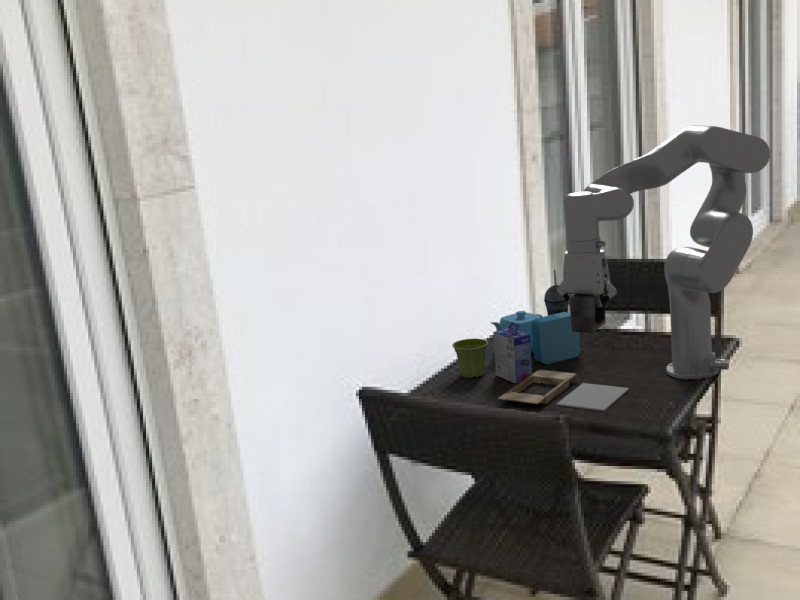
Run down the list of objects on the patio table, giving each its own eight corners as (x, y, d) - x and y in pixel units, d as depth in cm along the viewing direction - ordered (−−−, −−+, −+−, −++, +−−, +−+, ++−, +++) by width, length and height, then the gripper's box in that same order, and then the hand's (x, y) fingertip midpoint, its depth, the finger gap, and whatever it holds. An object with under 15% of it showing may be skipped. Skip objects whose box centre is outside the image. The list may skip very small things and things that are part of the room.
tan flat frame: (577, 380, 244) (576, 373, 244) (538, 410, 227) (537, 403, 227) (539, 376, 250) (538, 369, 250) (498, 404, 233) (498, 397, 233)
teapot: (481, 354, 273) (477, 315, 271) (532, 340, 282) (529, 302, 279) (506, 364, 263) (503, 323, 260) (559, 348, 271) (556, 309, 268)
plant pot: (467, 367, 264) (464, 336, 262) (497, 370, 258) (494, 339, 256) (448, 378, 257) (445, 347, 255) (479, 382, 251) (476, 350, 249)
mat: (629, 389, 234) (628, 388, 234) (604, 411, 222) (604, 409, 222) (583, 384, 241) (583, 382, 241) (556, 405, 229) (556, 403, 229)
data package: (571, 352, 267) (569, 310, 264) (580, 356, 262) (578, 314, 260) (533, 361, 262) (530, 319, 260) (542, 365, 258) (539, 322, 255)
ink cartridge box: (534, 379, 248) (530, 325, 245) (516, 384, 246) (512, 330, 242) (512, 370, 257) (508, 318, 253) (495, 375, 255) (490, 323, 251)
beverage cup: (546, 341, 278) (541, 274, 273) (546, 334, 285) (542, 268, 280) (572, 340, 277) (567, 272, 272) (571, 333, 284) (567, 266, 279)
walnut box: (606, 323, 229) (603, 290, 227) (592, 333, 223) (589, 299, 221) (586, 321, 232) (583, 289, 230) (571, 331, 226) (569, 298, 224)
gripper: (624, 242, 221) (629, 319, 225) (556, 241, 231) (562, 314, 235) (611, 250, 215) (616, 328, 219) (542, 248, 225) (548, 323, 229)
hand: (588, 320), depth 227 cm, fingers closed on walnut box, 5 cm apart
